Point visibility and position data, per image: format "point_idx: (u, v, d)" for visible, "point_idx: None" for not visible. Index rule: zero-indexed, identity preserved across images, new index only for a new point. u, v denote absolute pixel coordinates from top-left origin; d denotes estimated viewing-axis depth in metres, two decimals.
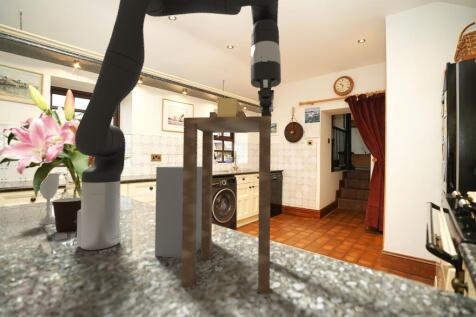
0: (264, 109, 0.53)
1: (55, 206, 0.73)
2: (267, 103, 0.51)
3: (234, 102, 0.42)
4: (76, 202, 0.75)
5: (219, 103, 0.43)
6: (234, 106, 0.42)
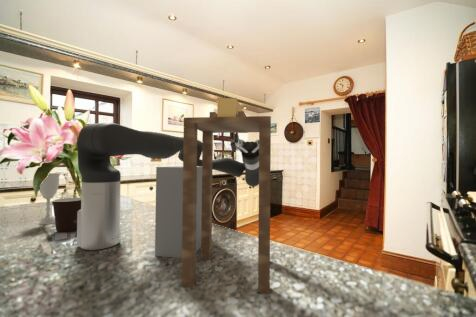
0: None
1: (55, 206, 0.73)
2: None
3: (234, 102, 0.42)
4: (76, 202, 0.75)
5: (219, 103, 0.43)
6: (234, 106, 0.42)
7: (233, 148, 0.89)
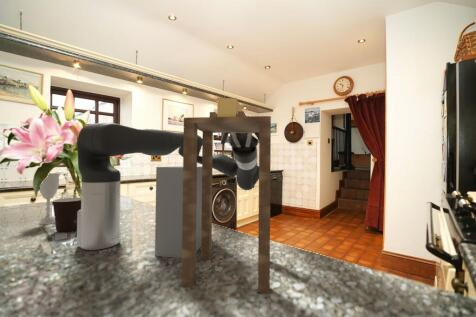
0: None
1: (55, 206, 0.73)
2: None
3: (234, 102, 0.42)
4: (76, 202, 0.75)
5: (219, 103, 0.43)
6: (234, 106, 0.42)
7: (224, 139, 0.67)
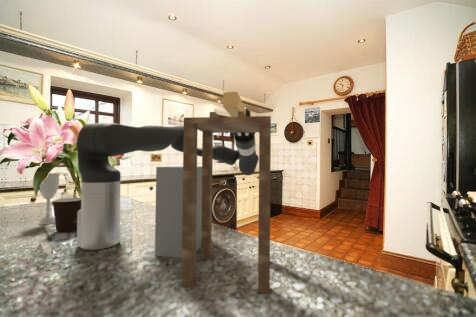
0: None
1: (55, 206, 0.73)
2: None
3: (235, 95, 0.56)
4: (76, 202, 0.75)
5: (224, 95, 0.57)
6: (235, 98, 0.56)
7: None
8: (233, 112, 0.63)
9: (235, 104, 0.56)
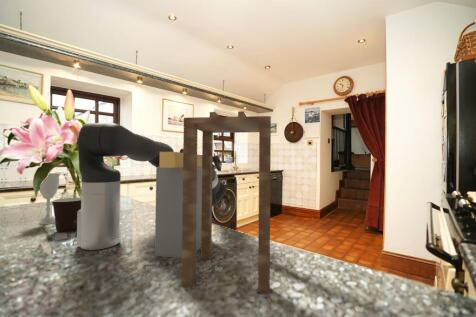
0: None
1: (55, 206, 0.73)
2: (217, 160, 0.73)
3: (173, 155, 0.51)
4: (76, 202, 0.75)
5: (161, 155, 0.51)
6: (173, 158, 0.51)
7: None
8: None
9: (172, 165, 0.51)
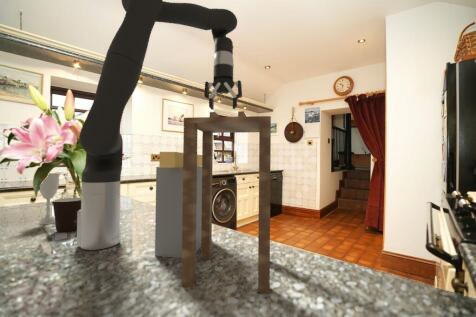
0: (237, 98, 0.87)
1: (55, 206, 0.73)
2: (241, 96, 0.87)
3: (173, 155, 0.51)
4: (76, 202, 0.75)
5: (161, 155, 0.51)
6: (173, 158, 0.51)
7: None
8: None
9: (172, 165, 0.51)
